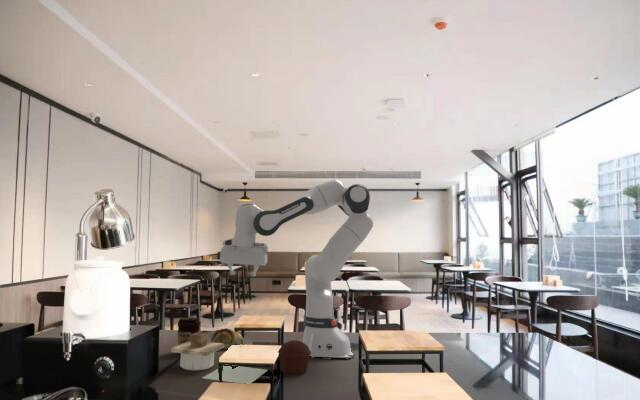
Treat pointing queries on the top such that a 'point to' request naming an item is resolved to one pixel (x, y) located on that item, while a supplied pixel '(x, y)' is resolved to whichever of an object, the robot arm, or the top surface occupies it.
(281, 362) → the muffin
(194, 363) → the bowl
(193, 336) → the lid
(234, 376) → the mat
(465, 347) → the top surface
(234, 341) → the pastry
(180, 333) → the coffee cup
